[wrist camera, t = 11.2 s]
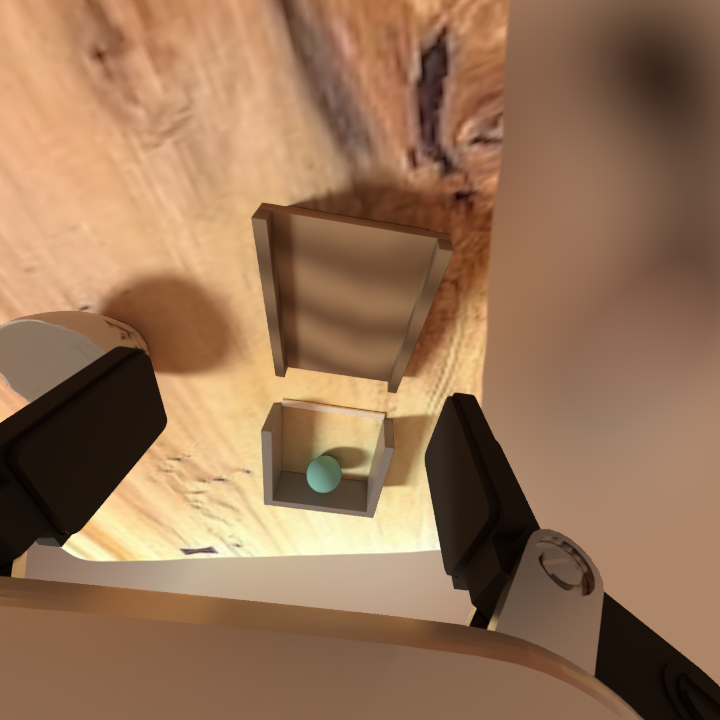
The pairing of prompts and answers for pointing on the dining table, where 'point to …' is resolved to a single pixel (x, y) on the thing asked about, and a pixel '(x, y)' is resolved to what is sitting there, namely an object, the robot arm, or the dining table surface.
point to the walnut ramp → (346, 290)
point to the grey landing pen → (294, 486)
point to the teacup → (57, 348)
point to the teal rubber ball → (324, 474)
